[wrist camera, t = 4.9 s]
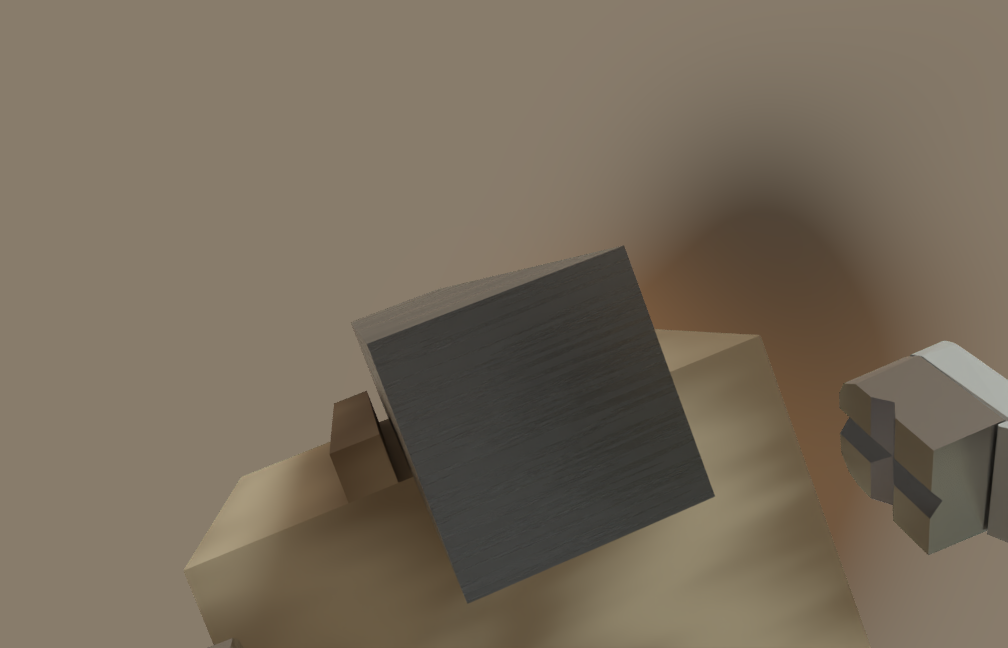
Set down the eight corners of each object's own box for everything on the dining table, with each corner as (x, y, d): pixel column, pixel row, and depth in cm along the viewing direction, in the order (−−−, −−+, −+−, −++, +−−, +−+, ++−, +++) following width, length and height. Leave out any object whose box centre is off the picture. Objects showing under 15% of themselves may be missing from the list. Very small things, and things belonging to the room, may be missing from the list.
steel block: (467, 604, 10) (367, 343, 10) (384, 408, 31) (350, 322, 31) (715, 496, 11) (623, 244, 10) (469, 374, 31) (437, 289, 31)
